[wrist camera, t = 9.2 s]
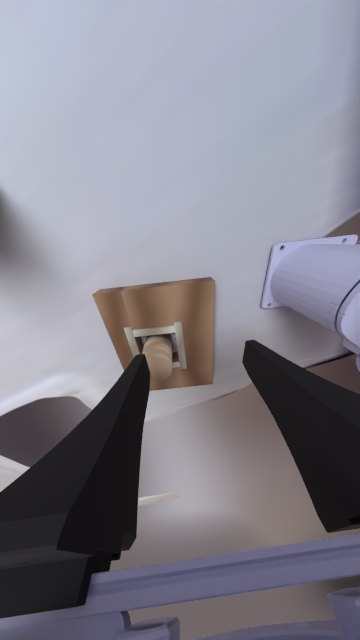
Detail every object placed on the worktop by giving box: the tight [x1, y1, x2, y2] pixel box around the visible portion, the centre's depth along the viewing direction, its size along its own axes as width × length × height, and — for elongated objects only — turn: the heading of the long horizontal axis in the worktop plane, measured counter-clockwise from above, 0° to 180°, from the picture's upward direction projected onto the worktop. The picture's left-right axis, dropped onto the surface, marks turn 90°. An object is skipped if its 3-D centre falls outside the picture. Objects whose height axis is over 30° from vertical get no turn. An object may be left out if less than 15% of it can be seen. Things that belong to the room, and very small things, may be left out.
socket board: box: [93, 277, 215, 391], centre depth 21 cm, size 14×18×2 cm
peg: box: [142, 333, 172, 381], centre depth 19 cm, size 4×4×6 cm
